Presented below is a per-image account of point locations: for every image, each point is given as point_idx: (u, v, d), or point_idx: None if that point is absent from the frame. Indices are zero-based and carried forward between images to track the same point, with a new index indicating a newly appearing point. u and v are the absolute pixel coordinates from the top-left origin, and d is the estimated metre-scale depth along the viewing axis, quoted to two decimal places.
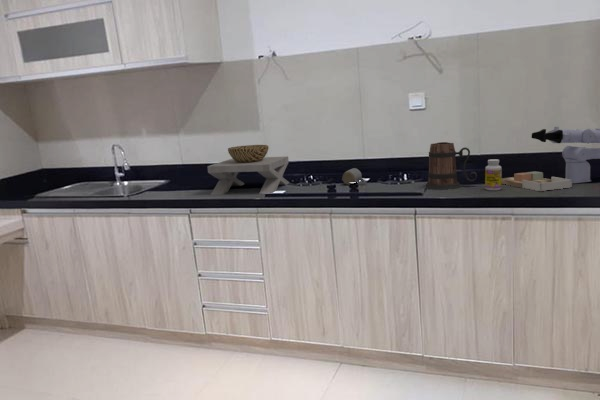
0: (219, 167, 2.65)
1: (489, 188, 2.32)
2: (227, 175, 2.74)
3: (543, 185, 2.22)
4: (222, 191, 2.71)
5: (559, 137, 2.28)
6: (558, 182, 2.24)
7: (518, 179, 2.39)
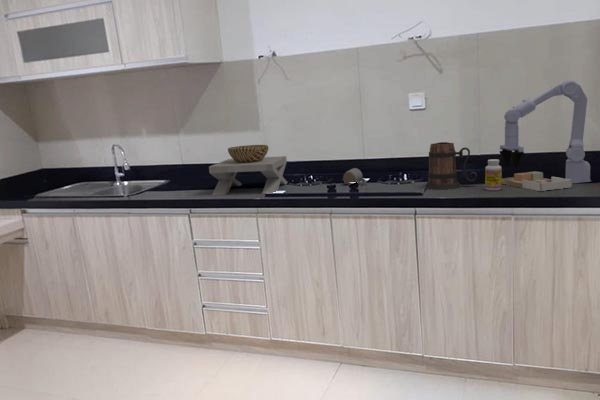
0: (221, 167, 2.64)
1: (489, 188, 2.32)
2: (227, 175, 2.73)
3: (543, 185, 2.22)
4: (223, 191, 2.69)
5: (518, 153, 2.41)
6: (558, 182, 2.24)
7: (518, 179, 2.39)
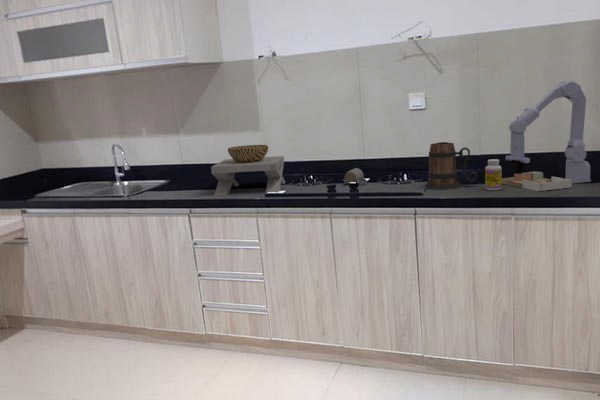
0: (224, 167, 2.63)
1: (489, 188, 2.32)
2: (228, 176, 2.72)
3: (543, 185, 2.22)
4: (225, 192, 2.68)
5: (520, 163, 2.41)
6: (558, 182, 2.24)
7: (518, 179, 2.39)
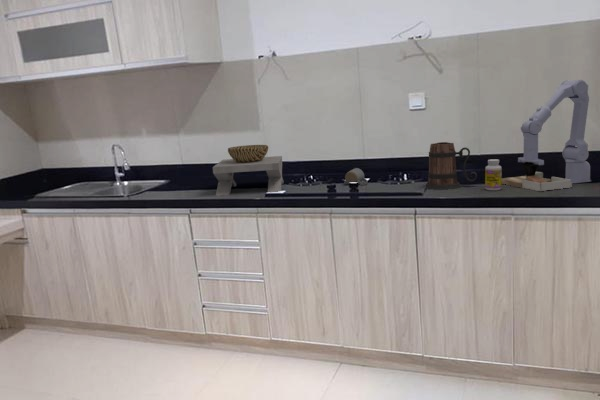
0: (225, 167, 2.62)
1: (489, 188, 2.32)
2: (229, 176, 2.71)
3: (543, 185, 2.22)
4: (227, 192, 2.67)
5: (533, 165, 2.32)
6: (558, 182, 2.24)
7: None
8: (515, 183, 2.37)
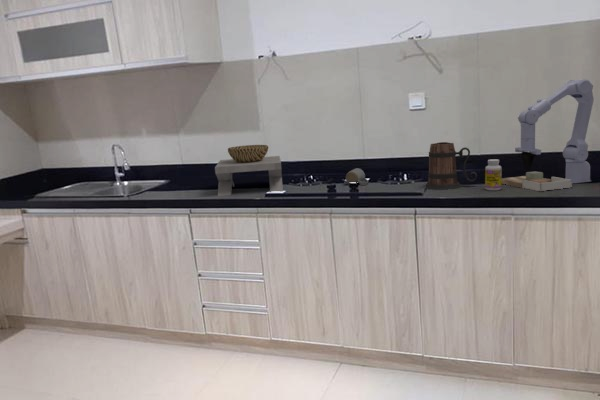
0: (228, 167, 2.62)
1: (489, 188, 2.32)
2: (230, 176, 2.71)
3: (543, 185, 2.22)
4: (229, 192, 2.67)
5: None
6: (558, 182, 2.24)
7: None
8: (515, 183, 2.37)
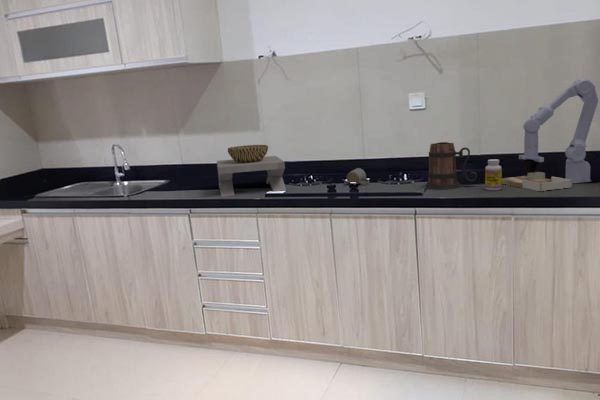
0: (232, 167, 2.61)
1: (489, 188, 2.32)
2: None
3: (543, 185, 2.22)
4: (232, 192, 2.66)
5: (534, 162, 2.41)
6: (558, 182, 2.24)
7: None
8: (515, 183, 2.37)
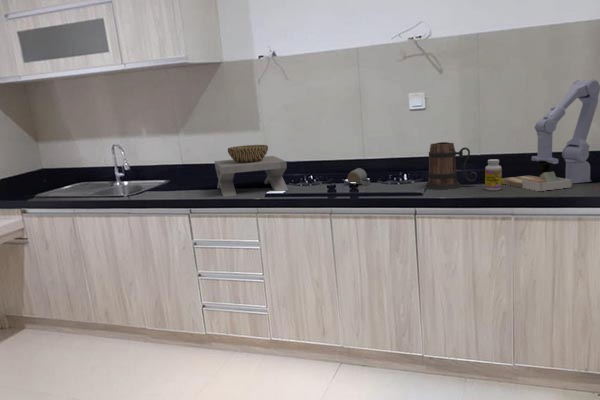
0: (234, 167, 2.60)
1: (489, 188, 2.32)
2: None
3: (543, 185, 2.22)
4: (234, 192, 2.65)
5: (547, 164, 2.33)
6: (558, 182, 2.24)
7: None
8: (515, 183, 2.37)
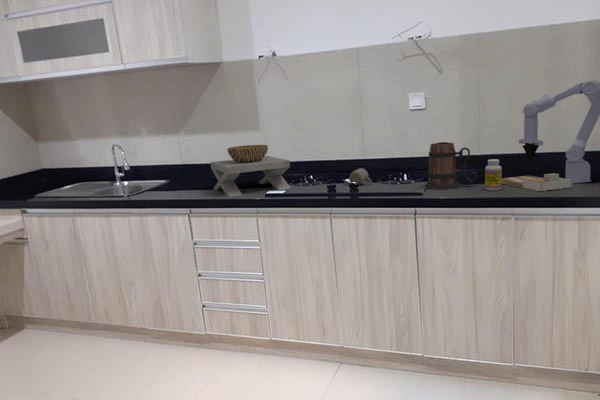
0: (240, 167, 2.60)
1: (489, 188, 2.32)
2: None
3: (543, 185, 2.22)
4: (239, 192, 2.64)
5: None
6: (558, 182, 2.24)
7: None
8: (515, 183, 2.37)
